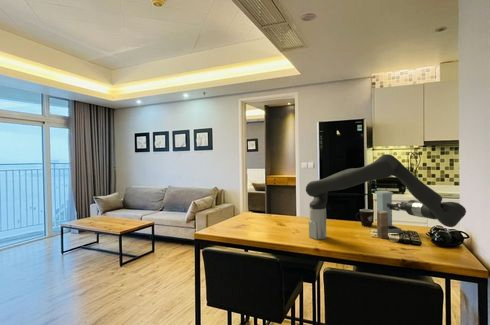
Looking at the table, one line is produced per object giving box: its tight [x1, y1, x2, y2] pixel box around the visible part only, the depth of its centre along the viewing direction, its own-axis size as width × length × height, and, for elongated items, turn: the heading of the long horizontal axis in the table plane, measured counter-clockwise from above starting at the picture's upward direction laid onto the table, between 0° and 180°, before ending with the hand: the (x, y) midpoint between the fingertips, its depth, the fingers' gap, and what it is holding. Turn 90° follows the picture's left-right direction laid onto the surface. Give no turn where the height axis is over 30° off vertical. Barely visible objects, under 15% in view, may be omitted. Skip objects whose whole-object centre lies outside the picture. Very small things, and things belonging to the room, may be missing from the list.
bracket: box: [388, 224, 403, 233], centre depth 160 cm, size 8×7×3 cm
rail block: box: [376, 210, 389, 239], centre depth 152 cm, size 4×4×15 cm
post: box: [374, 190, 394, 226], centre depth 166 cm, size 7×7×24 cm
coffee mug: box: [355, 208, 375, 228], centre depth 177 cm, size 12×9×10 cm
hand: (394, 204), depth 143 cm, fingers open, 8 cm apart
